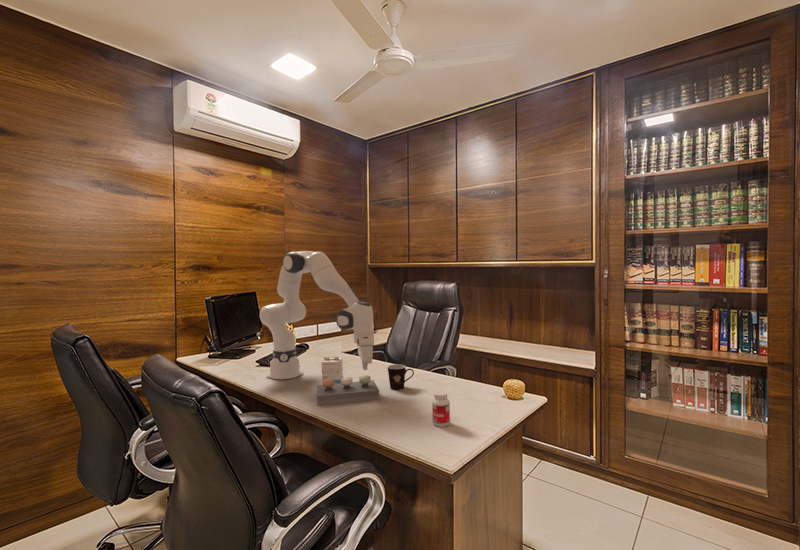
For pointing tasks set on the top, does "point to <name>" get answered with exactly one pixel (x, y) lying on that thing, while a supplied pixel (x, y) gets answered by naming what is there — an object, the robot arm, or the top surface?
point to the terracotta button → (328, 383)
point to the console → (347, 393)
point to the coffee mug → (397, 376)
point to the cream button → (346, 382)
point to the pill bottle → (441, 409)
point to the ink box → (332, 369)
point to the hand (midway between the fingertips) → (365, 369)
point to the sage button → (364, 380)
